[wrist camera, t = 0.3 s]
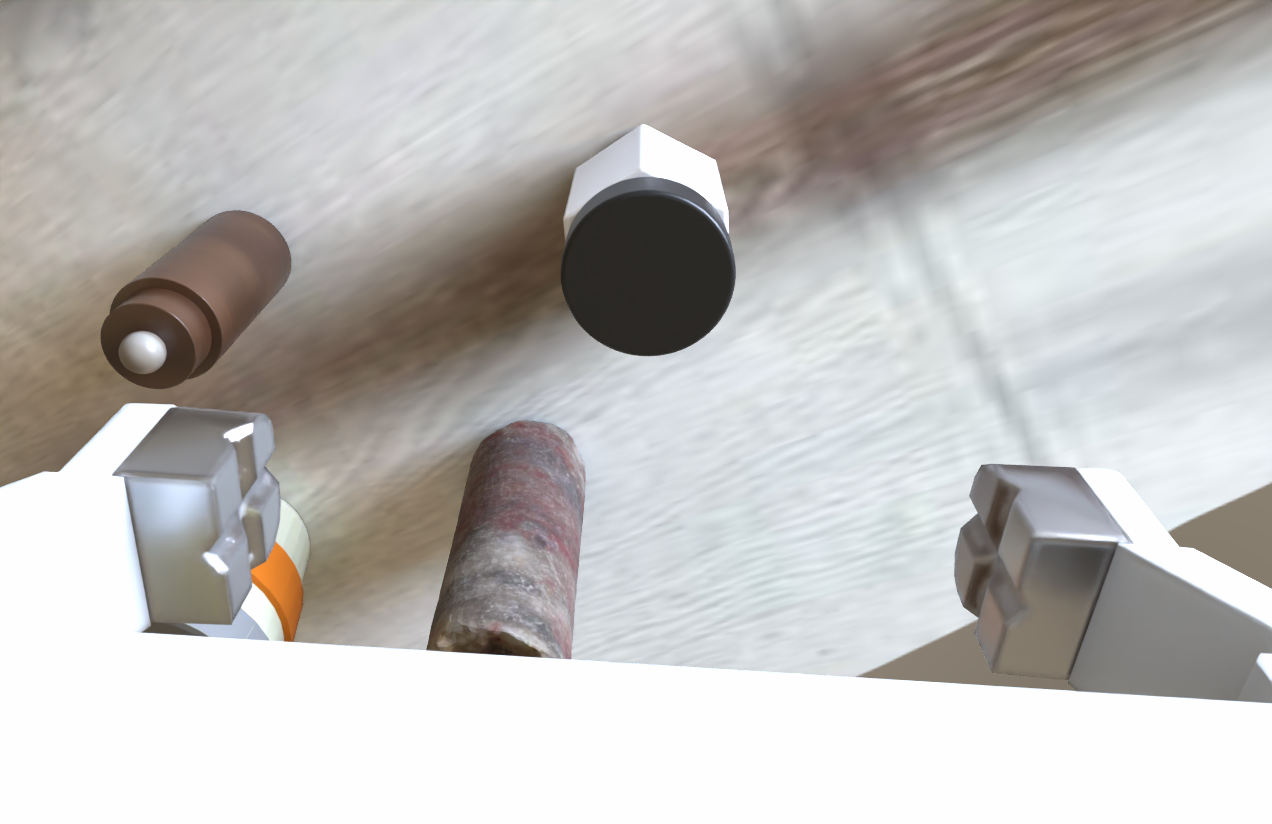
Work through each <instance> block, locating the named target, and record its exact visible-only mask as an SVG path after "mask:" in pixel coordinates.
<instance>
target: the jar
mask: <svg viewBox="0 0 1272 824" xmlns="http://www.w3.org/2000/svg"><path fill="white" fill-rule="evenodd" d="M563 223H564V233H565V247H564V252H563V256H562V262H561V284H562V290H563V294H564V297H565V300H566V303H567V305H568V307H569V309H570V311H571V313H572V315H573V316H574V318H575V319H576V321H577V322H578V323H579V325H580V326H581V327H582V328H583V329H584V330H585V331H586V332H587V333H588V334H589V335H590V336H592V337H593V338H594V339H596V340H597V341H599V342H600V343H602V344H603V345H605V346H607V347H609V348H611V349H614V350H616V351H619V352H623V353H626V354H631V355H638V356H659V355H665V354H670V353H674V352H677V351H679V350H682V349H684V348H687V347H689V346H691V345H693V344H694V343H696V342H698V341H699V340H700V339H702V338H703V337H704V336H706V335H707V334H708V333H709V332H710V331H711V330H712V329H713V328H714V327H715V326H716V325H717V323H718V322H719V321H720V320H721V318H722V316H723V315H724V313H725V312H726V310H727V308H728V306H729V303H730V301H731V298H732V295H733V291H734V286H735V278H736V267H735V259H734V254H733V250H732V245H731V241H730V237H729V227H728V208H727V204H726V199H725V195H724V191H723V187H722V183H721V179H720V175H719V171H718V167H717V163H716V161H715V160H714V159H712V158H710V157H708V156H706V155H704V154H702V153H700V152H698V151H696V150H694V149H692V148H690V147H688V146H686V145H684V144H682V143H680V142H678V141H677V140H675V139H673V138H671V137H669V136H667V135H665V134H663V133H661V132H659V131H657V130H655V129H653V128H651V127H649V126H647V125H645V124H642V125H640V126H638V127H637V128H635V129H634V130H632V131H631V132H629V133H628V134H626V135H625V136H623V137H622V138H620V139H619V140H617V141H616V142H614V143H613V144H611V145H610V146H608V147H607V148H605V149H604V150H602V151H601V152H599V153H598V154H596V155H595V156H594V157H592V158H591V159H589V160H588V161H586V162H584V163H583V164H581V165H580V166H578V167H577V168H576V169H575V172H574V176H573V180H572V185H571V189H570V193H569V197H568V201H567V206H566V210H565V214H564V218H563Z"/></svg>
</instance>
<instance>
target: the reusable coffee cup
mask: <svg viewBox="0 0 1272 824" xmlns="http://www.w3.org/2000/svg"><path fill="white" fill-rule="evenodd" d="M309 553H310V542H309V536H308V532H307V530H306V527H305V525H304V523H303V521H302V520H301V518H300V517H299V515H298V514H297V512H296V511H295V510H294V509H293V508H292V507H291V506H290V505H289V504H288V503H287V502H285V501H284V500H283V499H281V509H280V524H279V528H278V532H277V537H276V541H275V545H274V547H273V549H272V551H271V553H270V555H269V557H268V559H267V561H266V562H264V563H263V564H261V565H259V566H257V567H255V568H254V569H252V570H251V577H252V586H253V587H252V588H251V590H250V592H249V594H248V596H247V597H246V599H245V601H244V603H243V605H242V606H241V608H240V610H239V612H238V614H237V616H236V617H235V619H234V621H233V623H232V625H217V624H189V623H162V622H151V626H150V627H149V628H147V629H146V630H144V631H143V632H141V633H155V634H171V635H187V636H203V637H219V638H235V639H251V640H267V641H283V642H293V641H294V637H295V633H296V629H297V626H298V622H299V618H300V614H301V610H302V606H303V588H302V580H303V577H304V573H305V569H306V565H307V562H308V558H309Z"/></svg>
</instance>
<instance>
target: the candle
mask: <svg viewBox="0 0 1272 824" xmlns="http://www.w3.org/2000/svg"><path fill="white" fill-rule="evenodd" d="M584 499H585V467H584V464H583V460H582V458H581V455H580V453H579V452H578V450H577V447H576V446H575V444H574V442H573V440H572V438H571V437H570V436H569V435H568V434H567V433H566V432H565V431H563V430H562V429H560V428H558V427H556V426H554V425H551V424H547V423H542V422H535V421H517V422H514V423H511V424H509V425H507V426H506V427H504V428H502V429H500V430H497V431H496V432H495V433H493V434H491V435H490V436H488V437H487V438H485V439H484V440H483V441H482V442H481V444H480V445H479V447H478V449H477V450H476V452H475V454H474V456H473V459H472V462H471V466H470V470H469V474H468V478H467V482H466V487H465V491H464V495H463V500H462V504H461V509H460V513H459V517H458V523H457V527H456V530H455V534H454V538H453V543H452V547H451V551H450V555H449V559H448V563H447V567H446V571H445V575H444V579H443V583H442V587H441V591H440V596H439V601H438V604H437V607H436V611H435V614H434V618H433V622H432V626H431V630H430V635H429V641H428V645H427V650H426V651H442V652H458V653H474V654H490V655H506V656H522V657H538V658H554V659H570V660H571V651H572V640H573V628H574V612H575V600H576V584H577V576H578V566H579V553H580V543H581V533H582V522H583V511H584Z"/></svg>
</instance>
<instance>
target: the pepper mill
mask: <svg viewBox="0 0 1272 824" xmlns="http://www.w3.org/2000/svg"><path fill="white" fill-rule="evenodd" d="M290 270H291V256H290V251H289V248H288V246H287V243H286V241H285V239H284V238H283V236H282V235H281V233H280V232H279V231H278V230H277V229H276V228H275V227H274V226H273V225H272V224H271V223H270V222H268V221H267V220H265V219H264V218H262V217H260V216H258V215H255V214H253V213H249V212H245V211H226V212H222V213H220V214H217V215H215V216H214V217H212V218H211V219H209V220H208V221H207V222H206V223H204V224H203V225H202V226H200V227H199V228H198V229H197V230H195V231H194V232H193V233H192V234H190V235H189V236H188V237H187V238H185V239H184V240H183V241H182V242H180V243H179V244H178V245H176V246H175V247H174V248H173V249H171V250H170V251H169V252H168V253H166V254H165V255H164V256H163V257H161V258H160V259H159V260H158V261H156V262H155V263H154V264H152V265H151V266H150V267H149V268H147V269H146V270H145V271H144V272H142V273H141V274H140V275H139V276H137V277H136V278H135V279H134V280H132V281H131V282H130V283H128V284H127V285H126V286H125V287H124V288H122V289H121V290H120V291H119V292H118V294H117V295H116V297H115V298H114V300H113V302H112V305H111V309H110V314H109V315H108V316H107V318H106V319H105V321H104V323H103V326H102V329H101V344H102V349H103V351H104V354H105V356H106V358H107V360H108V361H109V363H110V364H111V365H112V367H113V368H114V369H115V370H116V371H117V372H118V373H119V374H120V375H122V376H123V377H124V378H126V379H127V380H129V381H131V382H133V383H135V384H137V385H140V386H143V387H147V388H153V389H165V388H170V387H174V386H176V385H179V384H180V383H182V382H184V381H185V380H187V379H191V378H195V377H198V376H200V375H202V374H204V373H206V372H207V371H208V370H209V369H211V368H212V367H213V365H214V364H215V363H216V362H217V361H218V360H219V359H220V358H221V356H222V355H223V354H224V353H225V352H226V351H227V350H228V348H229V347H230V346H231V345H232V344H233V343H234V342H235V340H236V339H237V338H238V337H239V336H240V335H241V334H242V333H243V331H244V330H245V329H246V328H247V327H248V326H249V325H250V323H251V322H252V321H253V320H254V319H255V318H256V317H257V315H258V314H259V313H260V312H261V311H262V310H263V309H264V307H265V306H266V305H267V304H268V303H269V302H270V301H271V300H272V298H273V297H274V296H275V295H276V294H277V293H278V292H279V290H280V289H281V288H282V287H283V286H284V284H285V283H286V281H287V279H288V277H289V274H290Z"/></svg>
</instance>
